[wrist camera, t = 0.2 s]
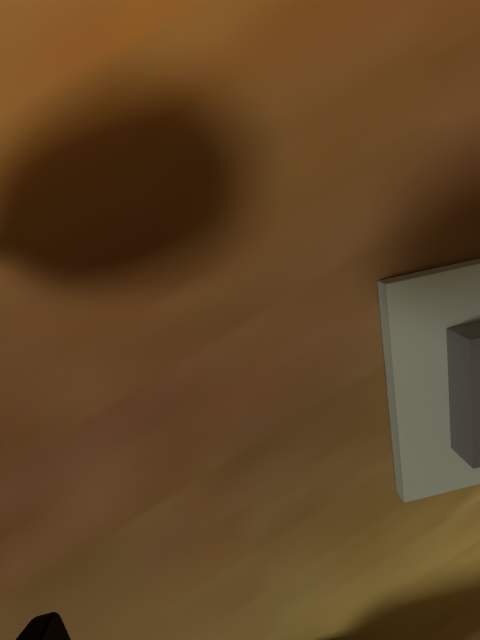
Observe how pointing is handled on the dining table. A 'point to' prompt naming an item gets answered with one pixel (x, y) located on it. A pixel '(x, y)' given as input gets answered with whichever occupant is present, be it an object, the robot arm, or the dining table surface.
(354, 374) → the dining table surface
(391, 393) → the end holder
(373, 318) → the dining table surface
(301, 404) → the dining table surface
